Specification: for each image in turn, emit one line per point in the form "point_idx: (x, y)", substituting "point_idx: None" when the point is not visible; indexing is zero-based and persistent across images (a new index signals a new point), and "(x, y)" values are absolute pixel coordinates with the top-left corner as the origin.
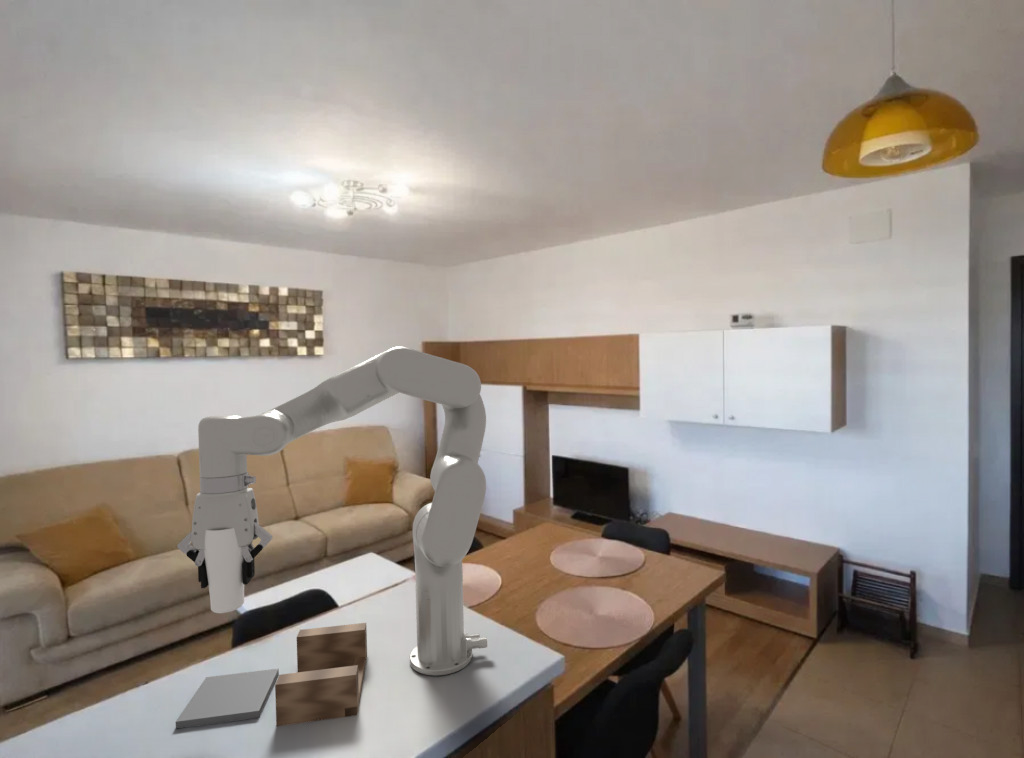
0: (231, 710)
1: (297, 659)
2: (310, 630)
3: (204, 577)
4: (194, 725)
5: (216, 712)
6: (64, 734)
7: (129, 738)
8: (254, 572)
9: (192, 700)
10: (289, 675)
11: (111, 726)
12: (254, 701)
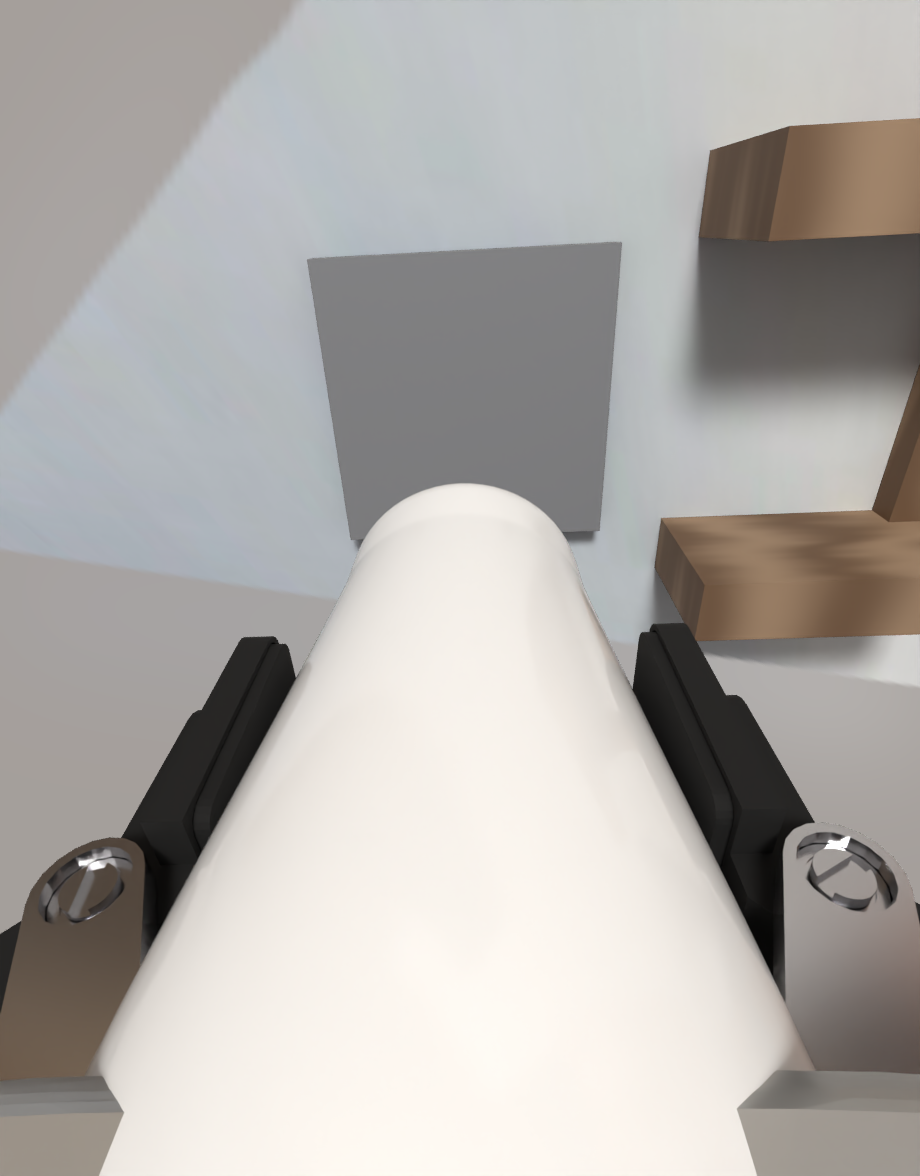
0: None
1: (721, 237)
2: (856, 152)
3: None
4: None
5: None
6: (15, 497)
7: (240, 547)
8: (743, 708)
9: (343, 434)
10: (742, 595)
11: (135, 483)
12: (572, 479)
